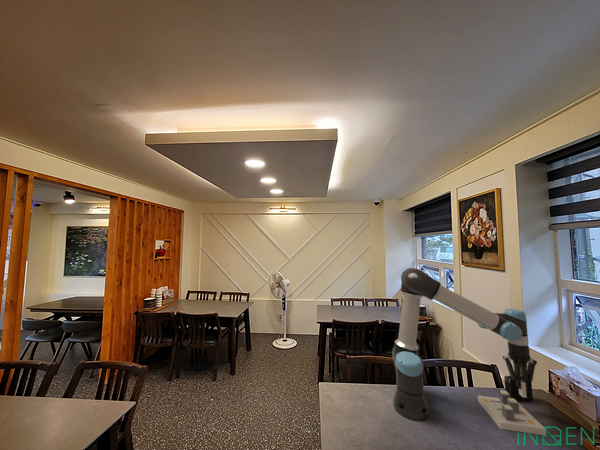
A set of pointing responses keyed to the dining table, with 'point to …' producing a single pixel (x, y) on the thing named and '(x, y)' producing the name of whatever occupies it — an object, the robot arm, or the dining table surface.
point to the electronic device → (517, 390)
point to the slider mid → (513, 404)
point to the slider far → (503, 396)
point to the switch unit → (521, 423)
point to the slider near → (508, 412)
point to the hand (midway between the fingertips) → (522, 395)
